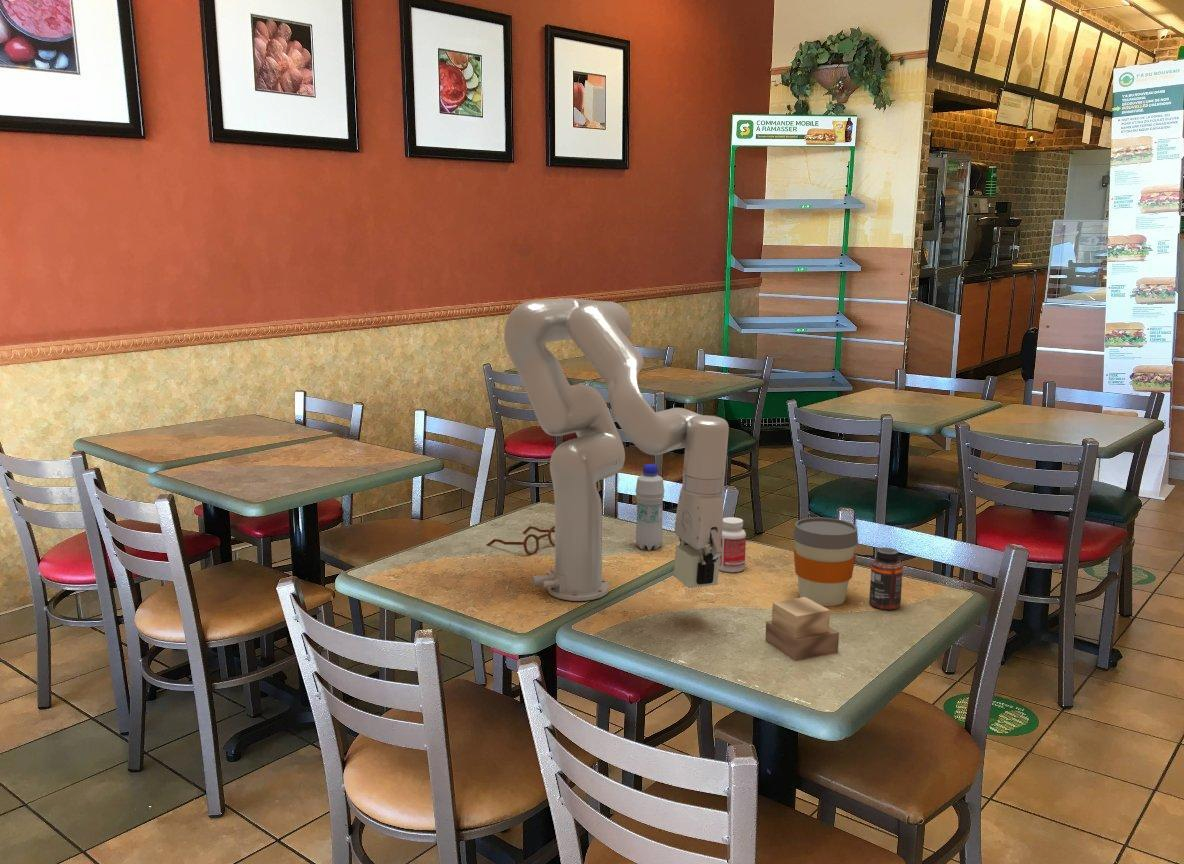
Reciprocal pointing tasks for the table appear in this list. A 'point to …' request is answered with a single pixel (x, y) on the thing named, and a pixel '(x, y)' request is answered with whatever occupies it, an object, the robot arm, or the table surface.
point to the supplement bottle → (886, 579)
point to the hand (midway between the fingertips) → (695, 575)
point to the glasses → (528, 538)
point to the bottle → (649, 508)
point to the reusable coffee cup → (824, 558)
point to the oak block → (800, 617)
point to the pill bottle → (732, 545)
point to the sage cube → (691, 566)
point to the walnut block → (802, 642)
